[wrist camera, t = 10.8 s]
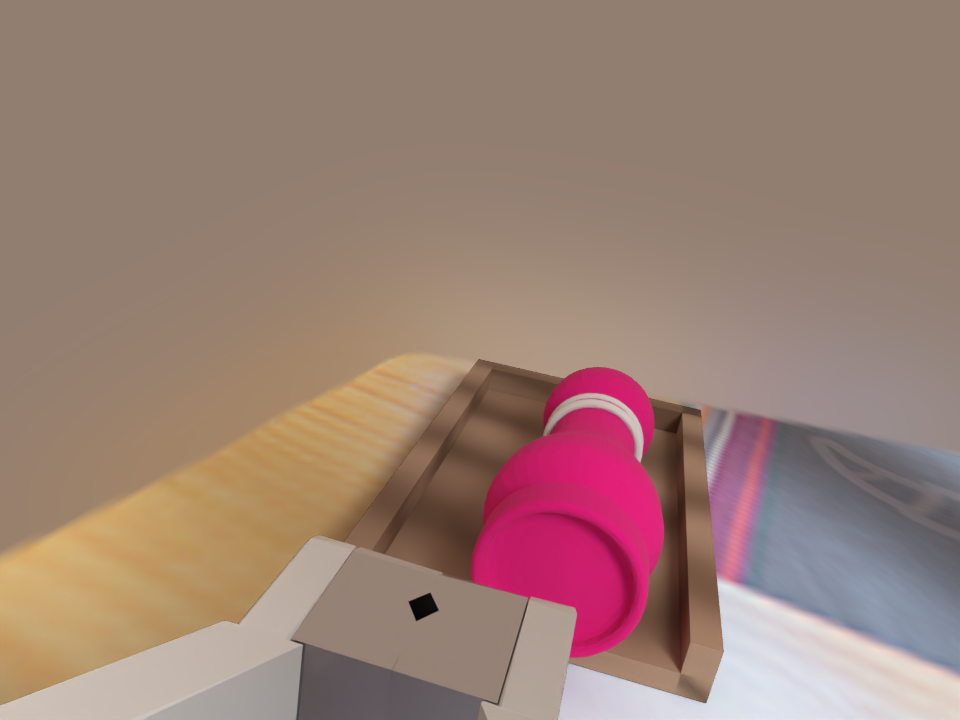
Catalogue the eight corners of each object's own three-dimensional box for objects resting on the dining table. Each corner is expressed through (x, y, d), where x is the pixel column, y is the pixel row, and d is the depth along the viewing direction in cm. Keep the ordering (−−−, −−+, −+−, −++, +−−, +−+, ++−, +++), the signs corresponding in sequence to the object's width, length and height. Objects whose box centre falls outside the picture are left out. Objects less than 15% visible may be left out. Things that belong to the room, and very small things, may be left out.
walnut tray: (473, 392, 52) (478, 359, 51) (690, 444, 49) (700, 410, 48) (337, 594, 31) (342, 543, 30) (706, 703, 28) (723, 651, 27)
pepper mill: (450, 482, 26) (543, 337, 44) (460, 659, 28) (545, 449, 46) (665, 497, 24) (668, 339, 43) (660, 685, 26) (665, 456, 45)
